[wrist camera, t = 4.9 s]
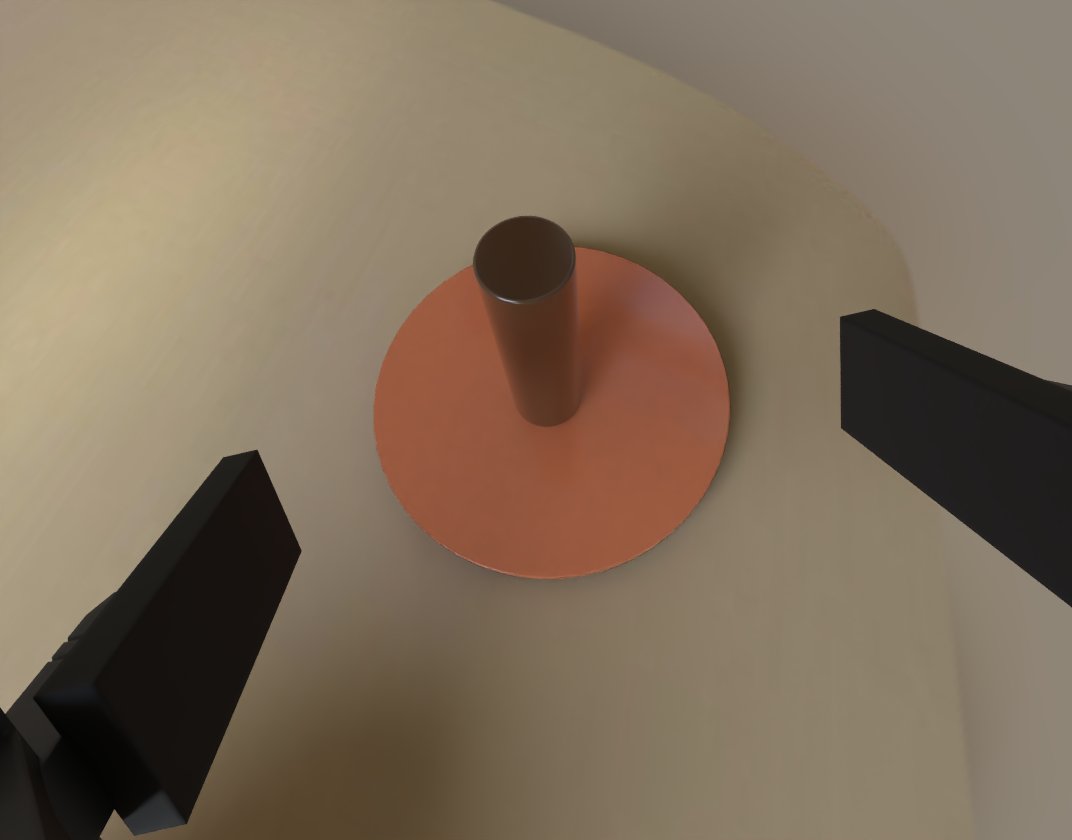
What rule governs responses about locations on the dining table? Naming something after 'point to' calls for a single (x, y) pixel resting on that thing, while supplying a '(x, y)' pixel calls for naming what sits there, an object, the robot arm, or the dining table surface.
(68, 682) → the robot arm
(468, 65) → the dining table surface
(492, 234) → the lid
